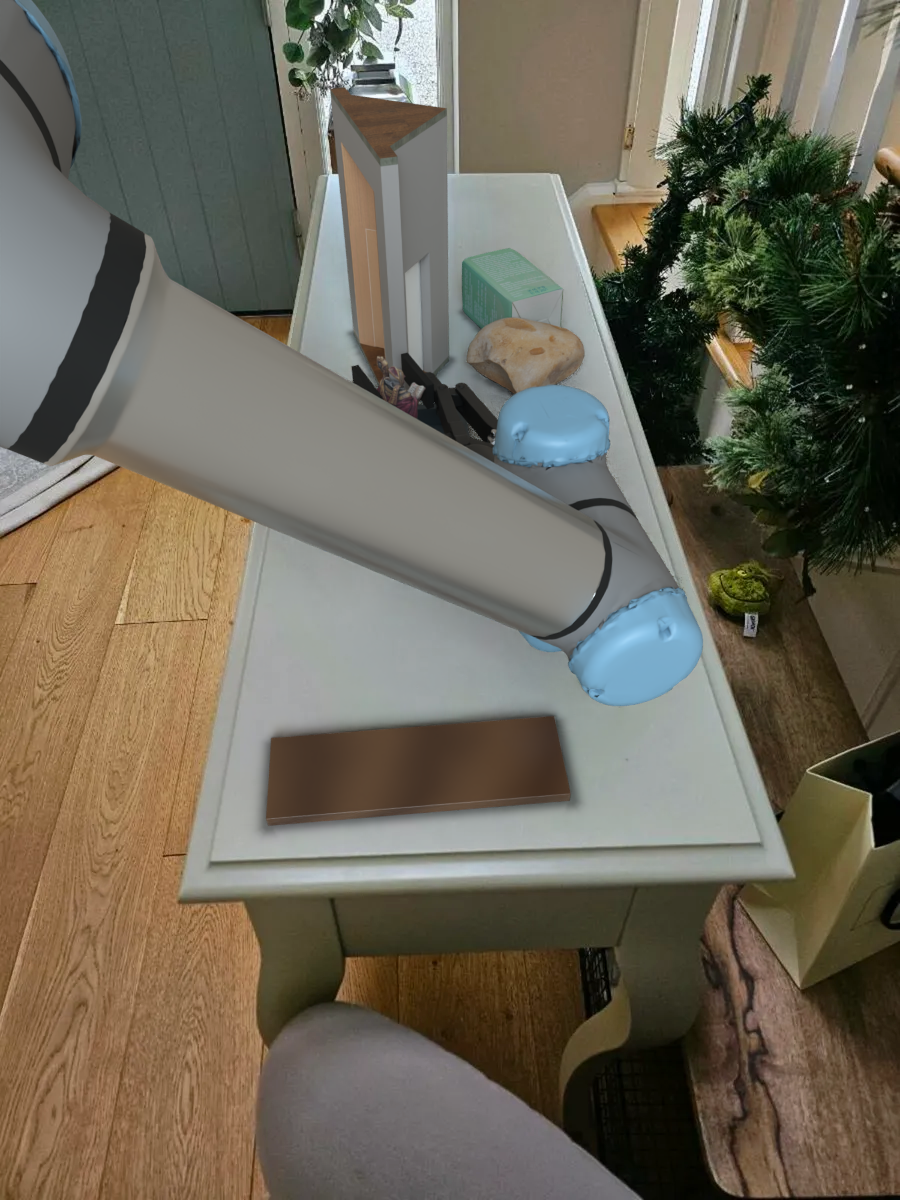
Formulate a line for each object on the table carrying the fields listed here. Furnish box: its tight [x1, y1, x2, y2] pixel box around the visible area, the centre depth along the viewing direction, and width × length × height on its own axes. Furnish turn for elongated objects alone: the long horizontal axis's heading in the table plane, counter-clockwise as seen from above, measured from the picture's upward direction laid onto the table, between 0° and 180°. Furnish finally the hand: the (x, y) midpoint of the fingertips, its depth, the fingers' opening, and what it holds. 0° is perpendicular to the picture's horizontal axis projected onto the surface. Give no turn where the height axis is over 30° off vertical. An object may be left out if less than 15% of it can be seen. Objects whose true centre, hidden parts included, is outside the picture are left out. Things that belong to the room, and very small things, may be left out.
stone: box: [466, 317, 586, 395], centre depth 100 cm, size 14×11×8 cm
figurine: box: [376, 356, 426, 419], centre depth 85 cm, size 6×6×12 cm
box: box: [461, 247, 564, 330], centre depth 108 cm, size 7×14×8 cm, turn 26°
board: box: [265, 715, 572, 827], centre depth 64 cm, size 22×7×1 cm, turn 95°
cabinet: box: [329, 86, 450, 390], centre depth 94 cm, size 21×10×28 cm, turn 18°
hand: (380, 371), depth 88 cm, fingers closed on figurine, 5 cm apart
